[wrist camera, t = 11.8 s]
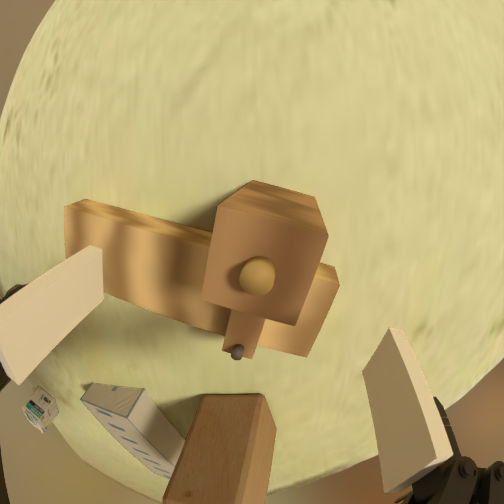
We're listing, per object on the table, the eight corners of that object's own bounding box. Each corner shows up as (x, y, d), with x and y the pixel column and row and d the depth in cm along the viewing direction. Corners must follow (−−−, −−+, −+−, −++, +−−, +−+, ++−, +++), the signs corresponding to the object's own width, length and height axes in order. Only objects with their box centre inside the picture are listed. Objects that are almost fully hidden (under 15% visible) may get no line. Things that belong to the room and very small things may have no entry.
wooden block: (201, 391, 38) (156, 503, 19) (265, 390, 35) (239, 520, 17) (221, 426, 41) (191, 522, 22) (278, 426, 38) (261, 533, 20)
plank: (85, 263, 32) (67, 275, 29) (85, 198, 29) (64, 206, 25) (306, 334, 31) (306, 357, 27) (334, 266, 27) (339, 285, 23)
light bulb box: (39, 385, 54) (20, 407, 44) (55, 398, 54) (36, 422, 44) (44, 400, 58) (28, 421, 48) (59, 413, 58) (43, 434, 48)
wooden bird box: (223, 310, 31) (183, 396, 19) (252, 180, 25) (211, 210, 13) (273, 324, 31) (257, 418, 19) (314, 196, 25) (331, 243, 13)
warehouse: (93, 381, 44) (75, 405, 37) (145, 386, 41) (126, 418, 34) (160, 457, 53) (151, 478, 46) (209, 464, 50) (201, 489, 43)
